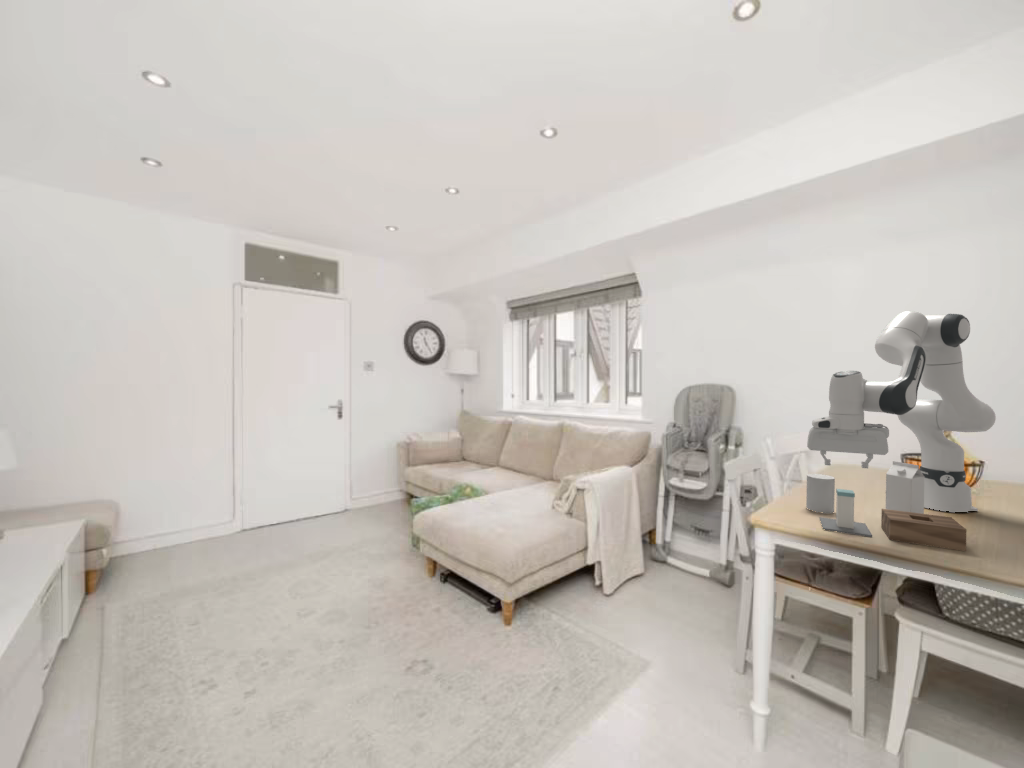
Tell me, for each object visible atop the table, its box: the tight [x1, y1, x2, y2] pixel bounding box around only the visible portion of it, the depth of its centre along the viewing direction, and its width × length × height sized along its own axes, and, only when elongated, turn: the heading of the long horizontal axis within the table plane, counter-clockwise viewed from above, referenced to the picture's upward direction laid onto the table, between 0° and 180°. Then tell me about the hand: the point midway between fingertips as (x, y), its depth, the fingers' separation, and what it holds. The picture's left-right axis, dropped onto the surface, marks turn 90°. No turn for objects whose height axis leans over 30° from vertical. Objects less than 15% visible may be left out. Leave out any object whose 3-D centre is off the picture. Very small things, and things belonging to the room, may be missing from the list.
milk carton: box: [885, 460, 925, 514], centre depth 145 cm, size 7×7×19 cm
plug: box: [835, 488, 856, 529], centre depth 138 cm, size 4×4×11 cm
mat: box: [819, 516, 873, 538], centre depth 138 cm, size 12×12×1 cm
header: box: [880, 508, 967, 552], centre depth 129 cm, size 12×16×6 cm
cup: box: [805, 473, 836, 514], centre depth 156 cm, size 8×8×12 cm
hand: (845, 466), depth 138 cm, fingers open, 8 cm apart
